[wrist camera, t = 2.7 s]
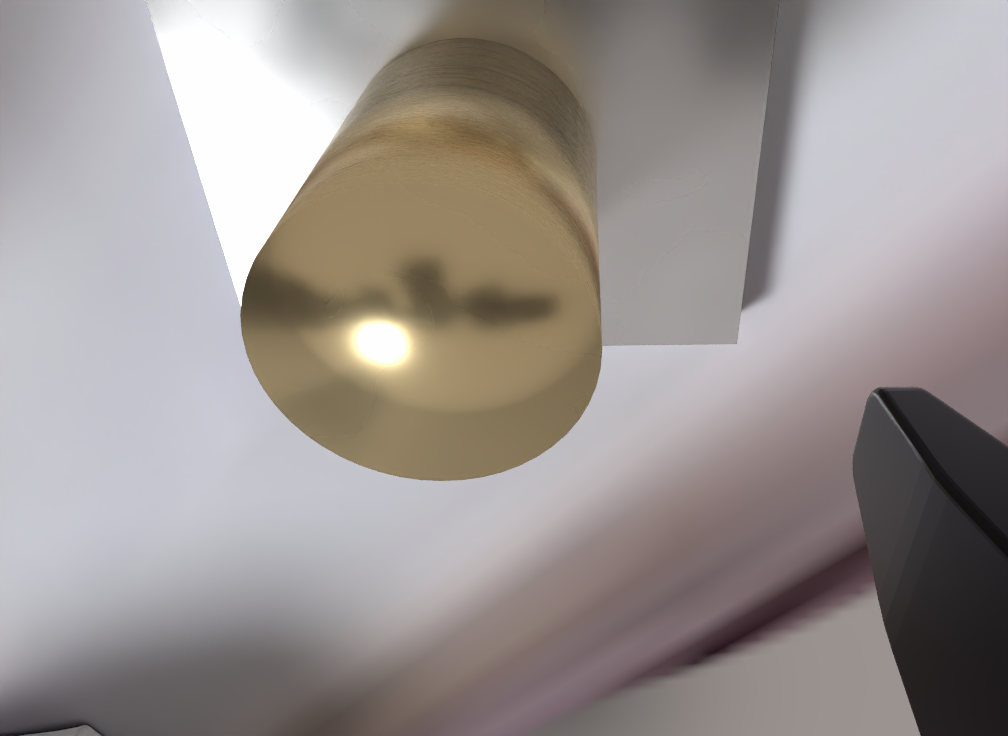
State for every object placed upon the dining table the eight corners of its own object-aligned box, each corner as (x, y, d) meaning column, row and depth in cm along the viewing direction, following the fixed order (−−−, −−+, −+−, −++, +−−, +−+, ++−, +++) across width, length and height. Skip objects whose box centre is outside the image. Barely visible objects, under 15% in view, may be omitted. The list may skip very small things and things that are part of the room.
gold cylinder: (369, 279, 14) (286, 480, 10) (323, 45, 12) (193, 189, 8) (596, 274, 14) (602, 481, 10) (595, 30, 12) (602, 175, 8)
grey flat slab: (267, 326, 16) (254, 350, 16) (151, -68, 12) (128, -57, 11) (730, 319, 15) (736, 344, 15) (779, -111, 11) (791, -102, 10)
